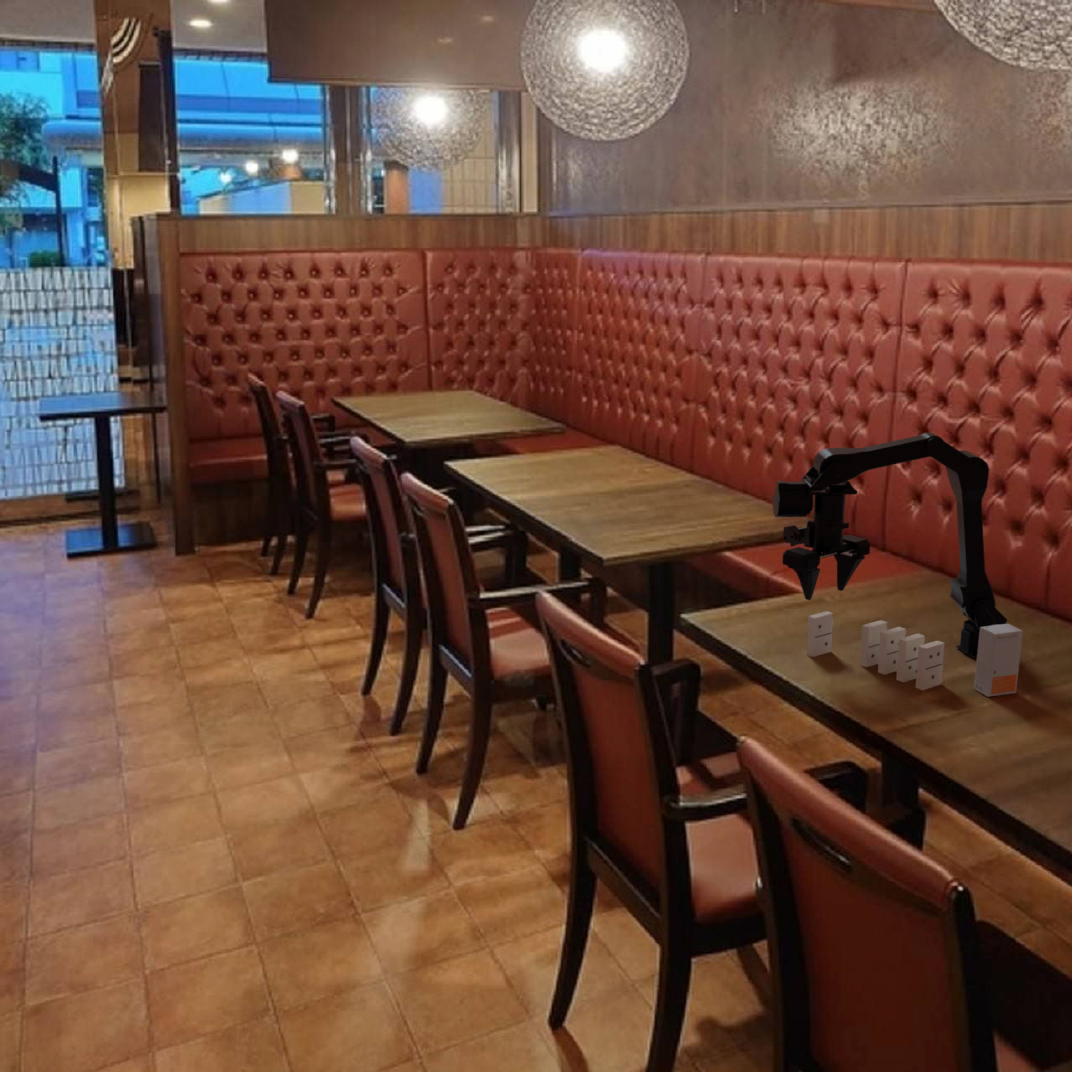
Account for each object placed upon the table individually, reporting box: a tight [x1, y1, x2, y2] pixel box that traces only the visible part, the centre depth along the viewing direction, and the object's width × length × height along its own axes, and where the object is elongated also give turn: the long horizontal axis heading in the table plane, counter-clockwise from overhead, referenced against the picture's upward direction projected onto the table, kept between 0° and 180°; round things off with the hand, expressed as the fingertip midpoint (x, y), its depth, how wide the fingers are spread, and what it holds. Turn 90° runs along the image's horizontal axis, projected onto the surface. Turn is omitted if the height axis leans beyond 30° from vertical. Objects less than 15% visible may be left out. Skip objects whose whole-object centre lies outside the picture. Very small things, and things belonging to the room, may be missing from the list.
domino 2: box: [859, 619, 888, 668], centre depth 215 cm, size 2×5×8 cm, turn 122°
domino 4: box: [895, 633, 926, 683], centre depth 208 cm, size 2×5×8 cm, turn 122°
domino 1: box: [806, 610, 834, 658], centre depth 221 cm, size 2×5×8 cm, turn 122°
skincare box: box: [973, 623, 1024, 698], centre depth 201 cm, size 6×4×12 cm
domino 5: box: [915, 640, 945, 691], centre depth 204 cm, size 2×5×8 cm, turn 122°
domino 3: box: [877, 626, 907, 676], centre depth 212 cm, size 2×5×8 cm, turn 122°
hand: (824, 594), depth 218 cm, fingers open, 9 cm apart
